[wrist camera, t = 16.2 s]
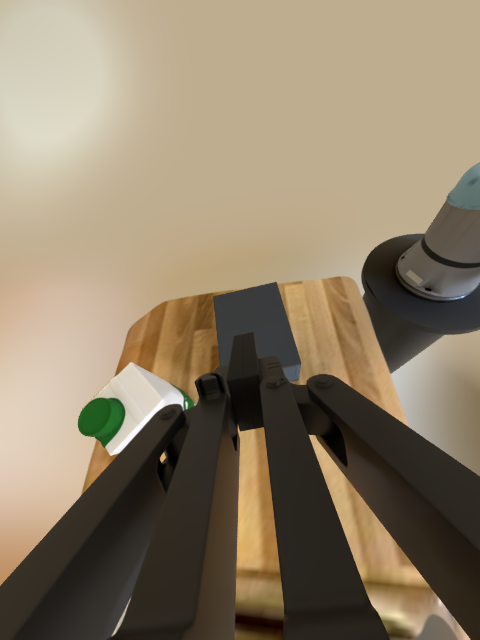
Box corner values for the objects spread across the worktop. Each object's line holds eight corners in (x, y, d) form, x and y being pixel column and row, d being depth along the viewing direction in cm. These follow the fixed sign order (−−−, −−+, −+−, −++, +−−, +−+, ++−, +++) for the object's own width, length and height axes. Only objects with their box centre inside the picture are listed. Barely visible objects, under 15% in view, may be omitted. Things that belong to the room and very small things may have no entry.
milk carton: (150, 423, 43) (61, 406, 26) (184, 386, 45) (122, 348, 28) (178, 459, 39) (94, 466, 22) (213, 416, 41) (162, 393, 24)
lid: (214, 298, 44) (213, 296, 43) (276, 284, 43) (276, 281, 42) (222, 380, 35) (221, 378, 35) (301, 364, 34) (301, 362, 34)
